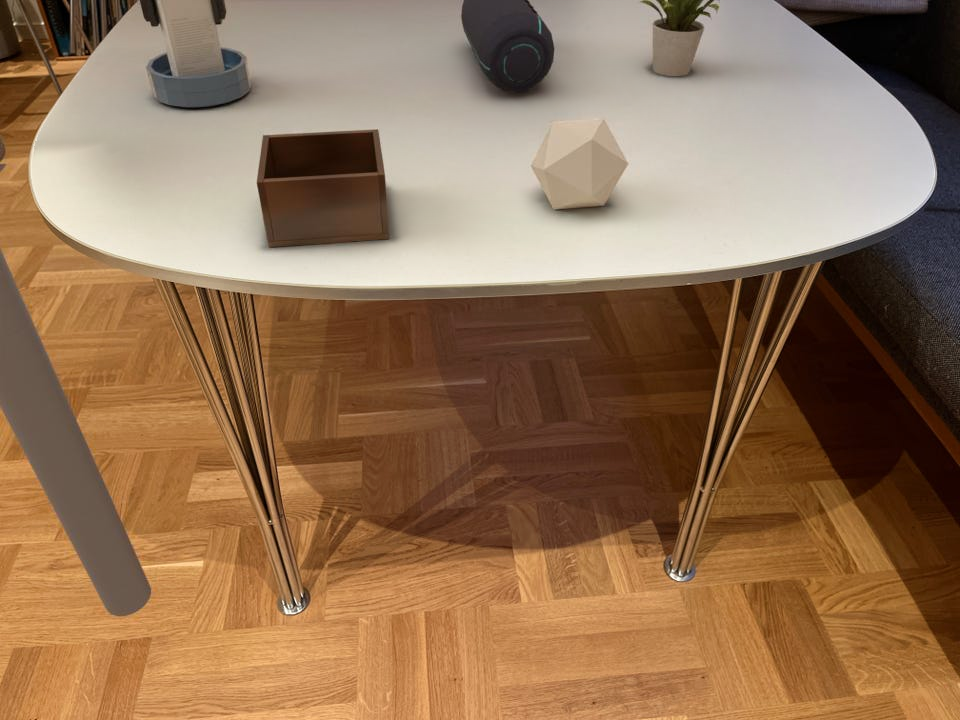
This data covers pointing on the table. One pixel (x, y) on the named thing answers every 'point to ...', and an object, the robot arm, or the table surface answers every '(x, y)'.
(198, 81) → the bowl
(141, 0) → the robot arm
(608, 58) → the table surface
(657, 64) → the house plant
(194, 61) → the cosmetic box
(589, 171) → the die
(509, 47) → the portable speaker
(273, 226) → the holder
